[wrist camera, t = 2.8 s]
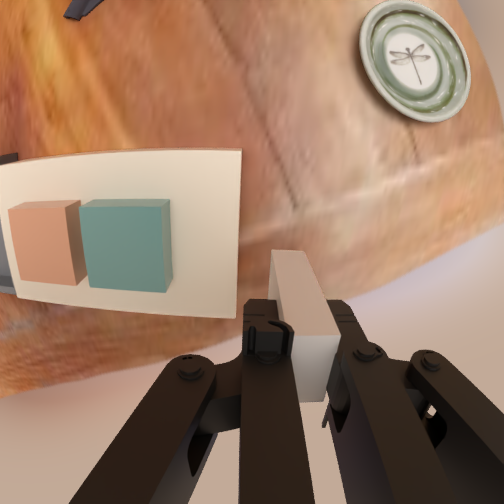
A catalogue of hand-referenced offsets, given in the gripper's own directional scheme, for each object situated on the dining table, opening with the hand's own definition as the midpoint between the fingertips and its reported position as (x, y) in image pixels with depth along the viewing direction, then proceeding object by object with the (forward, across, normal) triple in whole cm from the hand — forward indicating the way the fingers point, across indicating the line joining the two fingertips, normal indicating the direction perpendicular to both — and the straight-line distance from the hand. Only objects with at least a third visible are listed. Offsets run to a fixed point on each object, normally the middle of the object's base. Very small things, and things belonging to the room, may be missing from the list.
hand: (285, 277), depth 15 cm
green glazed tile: (+4, -9, 0) cm, 10 cm away
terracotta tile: (+4, -15, 0) cm, 15 cm away
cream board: (+8, -11, 0) cm, 14 cm away
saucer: (+9, +10, +14) cm, 19 cm away
